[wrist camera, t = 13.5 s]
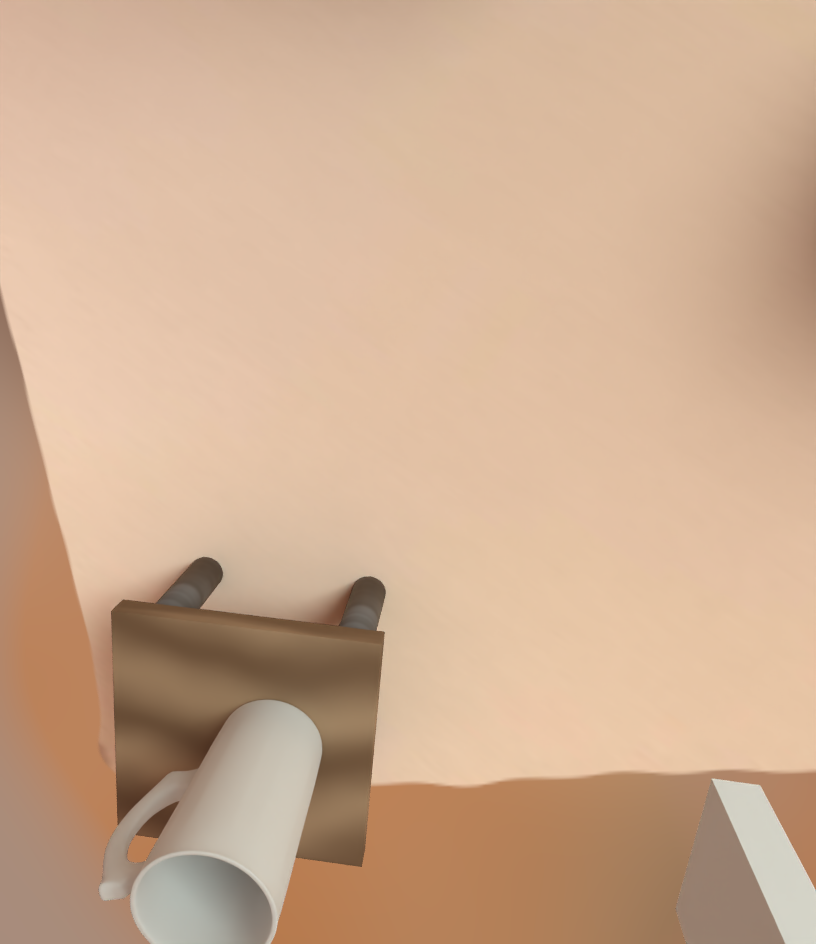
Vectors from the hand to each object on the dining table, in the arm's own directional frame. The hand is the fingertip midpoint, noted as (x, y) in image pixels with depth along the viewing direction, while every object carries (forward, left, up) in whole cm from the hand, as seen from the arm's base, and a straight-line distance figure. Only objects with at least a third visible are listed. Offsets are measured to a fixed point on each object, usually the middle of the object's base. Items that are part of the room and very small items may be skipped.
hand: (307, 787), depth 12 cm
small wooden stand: (+21, -9, -37) cm, 44 cm away
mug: (+21, -9, -27) cm, 35 cm away
